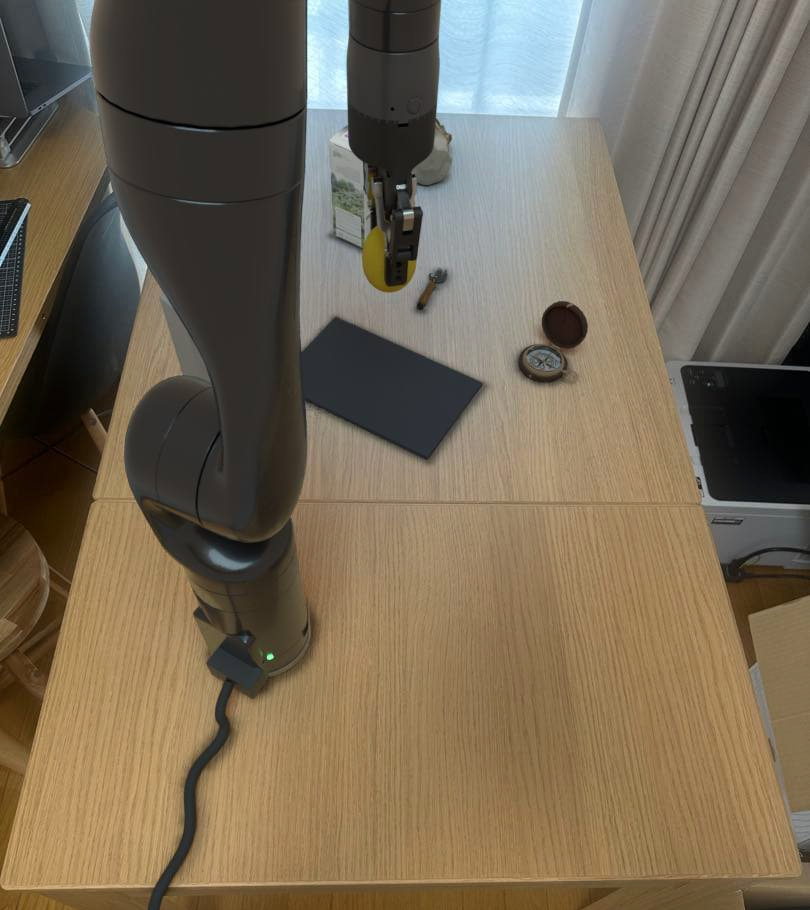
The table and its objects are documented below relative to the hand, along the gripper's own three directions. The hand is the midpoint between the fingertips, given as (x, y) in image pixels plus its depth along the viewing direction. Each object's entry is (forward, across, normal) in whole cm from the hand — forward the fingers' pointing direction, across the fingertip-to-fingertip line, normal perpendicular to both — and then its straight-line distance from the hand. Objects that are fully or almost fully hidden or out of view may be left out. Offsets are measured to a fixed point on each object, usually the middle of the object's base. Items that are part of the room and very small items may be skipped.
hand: (388, 263), depth 75 cm
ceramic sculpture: (+20, -46, +17) cm, 53 cm away
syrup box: (+20, -31, +4) cm, 37 cm away
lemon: (+4, 0, 0) cm, 4 cm away
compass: (+20, 0, +22) cm, 30 cm away
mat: (+19, -2, 0) cm, 19 cm away
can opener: (+20, -17, +11) cm, 28 cm away
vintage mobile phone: (+20, -3, -20) cm, 28 cm away
